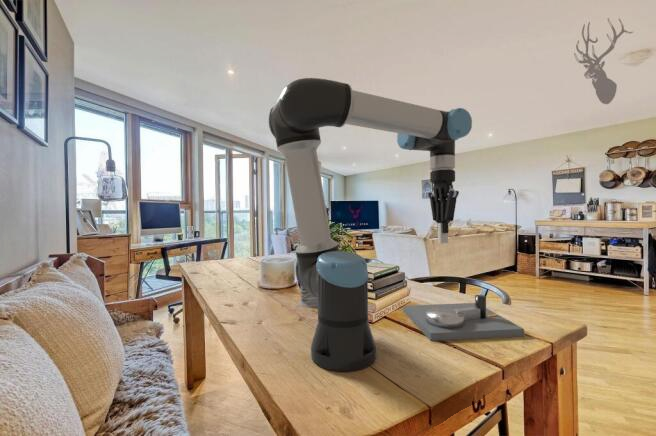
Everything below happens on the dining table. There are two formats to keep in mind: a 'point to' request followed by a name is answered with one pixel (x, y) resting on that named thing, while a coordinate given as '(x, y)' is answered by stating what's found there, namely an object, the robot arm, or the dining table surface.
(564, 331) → the dining table surface
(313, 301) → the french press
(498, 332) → the stand
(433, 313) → the cam lever
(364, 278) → the robot arm
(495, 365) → the dining table surface
